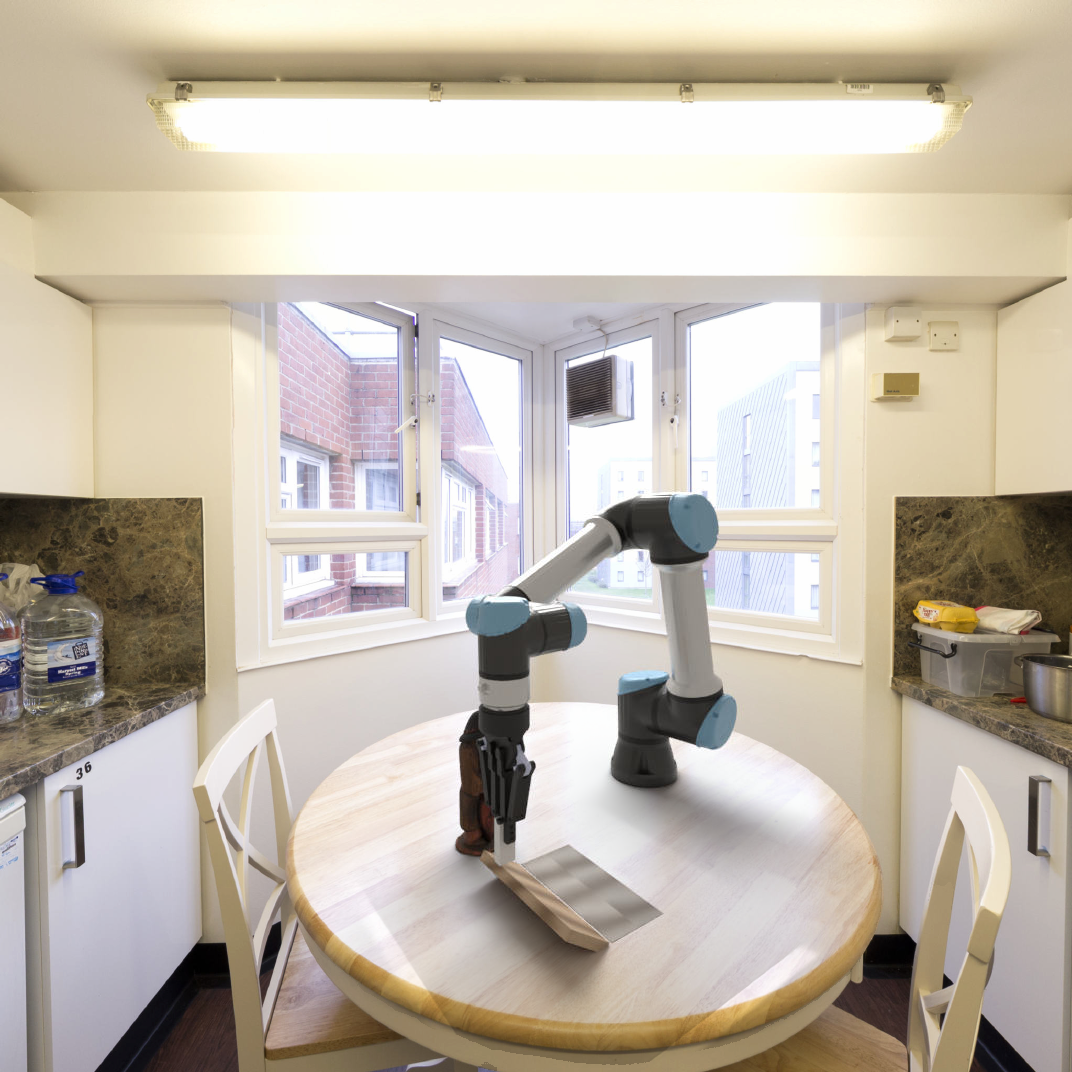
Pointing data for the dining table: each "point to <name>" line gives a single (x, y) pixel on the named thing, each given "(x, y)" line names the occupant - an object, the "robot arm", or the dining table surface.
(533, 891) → the plank
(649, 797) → the dining table surface
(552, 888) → the laid strip
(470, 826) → the figurine
